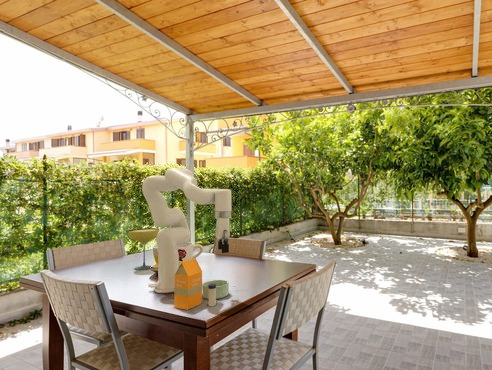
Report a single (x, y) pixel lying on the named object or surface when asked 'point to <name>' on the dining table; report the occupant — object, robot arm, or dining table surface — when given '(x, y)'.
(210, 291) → the vial
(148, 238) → the cocktail glass
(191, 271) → the orange juice
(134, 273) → the dining table surface
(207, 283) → the bowl
